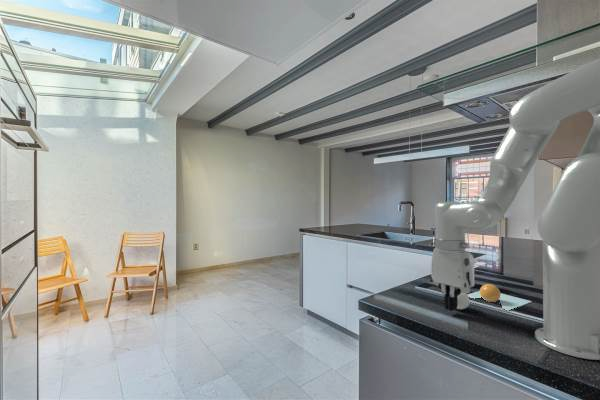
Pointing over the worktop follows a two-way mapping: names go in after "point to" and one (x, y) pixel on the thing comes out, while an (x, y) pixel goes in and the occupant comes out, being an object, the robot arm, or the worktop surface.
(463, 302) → the cue ball
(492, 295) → the object ball
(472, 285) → the can
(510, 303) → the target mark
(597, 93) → the robot arm
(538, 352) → the worktop surface
